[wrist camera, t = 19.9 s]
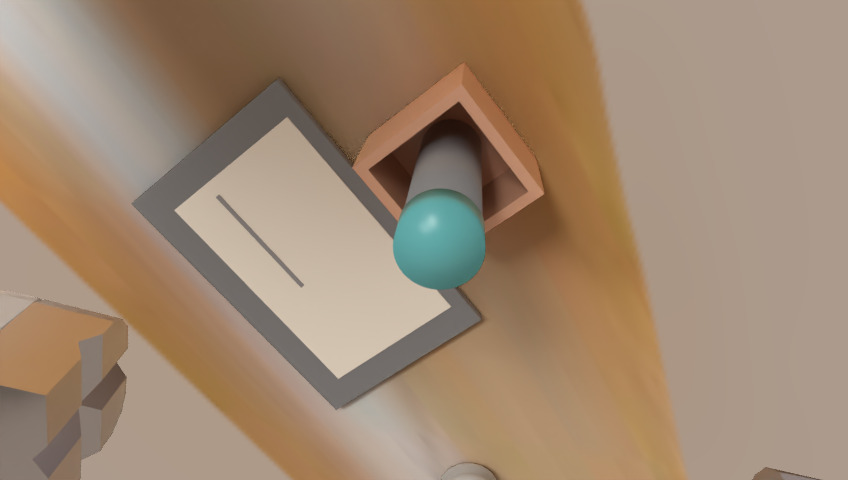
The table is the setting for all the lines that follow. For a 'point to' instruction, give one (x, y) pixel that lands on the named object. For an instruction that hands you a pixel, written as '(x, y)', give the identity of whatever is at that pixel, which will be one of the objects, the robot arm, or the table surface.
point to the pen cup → (501, 148)
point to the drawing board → (301, 248)
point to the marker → (443, 210)
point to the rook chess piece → (468, 472)
